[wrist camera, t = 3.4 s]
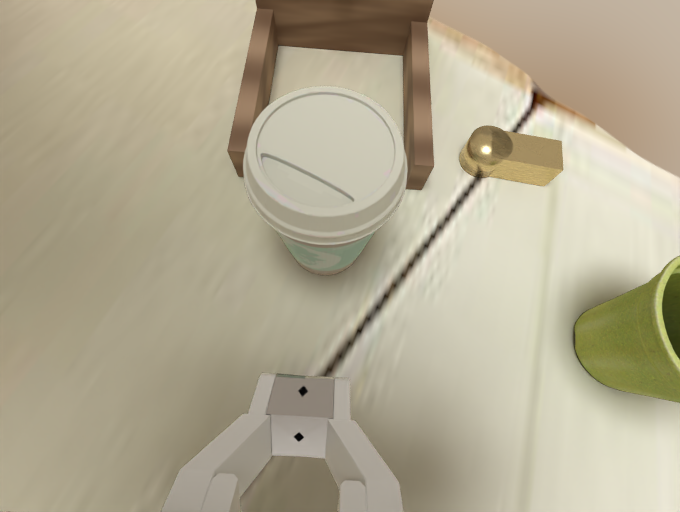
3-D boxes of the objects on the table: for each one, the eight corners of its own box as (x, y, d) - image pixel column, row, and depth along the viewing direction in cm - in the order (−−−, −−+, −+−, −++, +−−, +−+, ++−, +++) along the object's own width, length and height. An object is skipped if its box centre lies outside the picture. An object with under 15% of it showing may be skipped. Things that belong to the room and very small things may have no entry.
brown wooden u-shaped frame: (421, 189, 29) (461, 113, 20) (238, 176, 28) (201, 93, 20) (416, 41, 35) (446, -66, 26) (266, 28, 34) (247, -84, 26)
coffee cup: (255, 221, 27) (206, 112, 16) (345, 180, 29) (359, 56, 17) (302, 312, 25) (283, 261, 13) (397, 261, 26) (451, 179, 15)
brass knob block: (458, 173, 29) (469, 156, 27) (460, 141, 31) (471, 122, 28) (544, 189, 29) (563, 173, 27) (542, 156, 30) (561, 138, 28)
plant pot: (523, 330, 25) (620, 309, 17) (602, 264, 27) (722, 218, 19) (619, 443, 23) (787, 484, 14) (697, 362, 25) (882, 357, 17)
